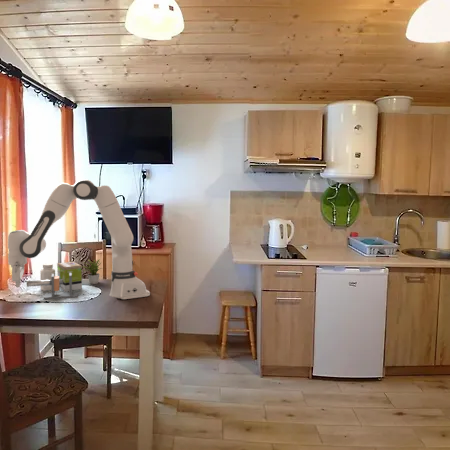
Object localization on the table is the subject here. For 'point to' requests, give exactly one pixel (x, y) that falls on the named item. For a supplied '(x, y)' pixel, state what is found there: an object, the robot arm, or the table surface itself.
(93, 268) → the house plant
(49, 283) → the shaft
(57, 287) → the spacer
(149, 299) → the table surface
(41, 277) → the pill bottle
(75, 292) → the grey post stand
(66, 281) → the tea box
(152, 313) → the table surface
